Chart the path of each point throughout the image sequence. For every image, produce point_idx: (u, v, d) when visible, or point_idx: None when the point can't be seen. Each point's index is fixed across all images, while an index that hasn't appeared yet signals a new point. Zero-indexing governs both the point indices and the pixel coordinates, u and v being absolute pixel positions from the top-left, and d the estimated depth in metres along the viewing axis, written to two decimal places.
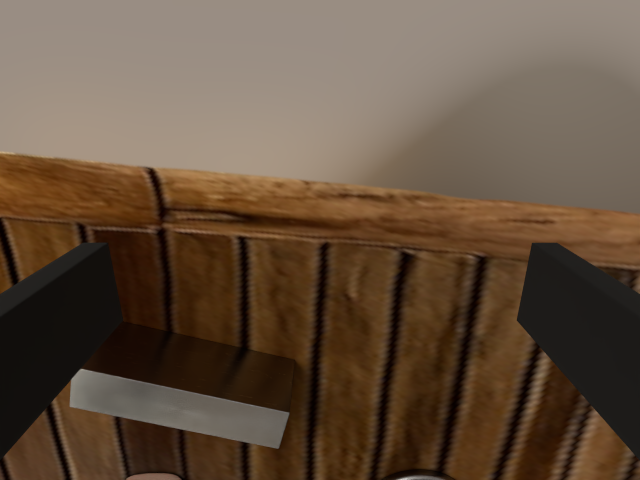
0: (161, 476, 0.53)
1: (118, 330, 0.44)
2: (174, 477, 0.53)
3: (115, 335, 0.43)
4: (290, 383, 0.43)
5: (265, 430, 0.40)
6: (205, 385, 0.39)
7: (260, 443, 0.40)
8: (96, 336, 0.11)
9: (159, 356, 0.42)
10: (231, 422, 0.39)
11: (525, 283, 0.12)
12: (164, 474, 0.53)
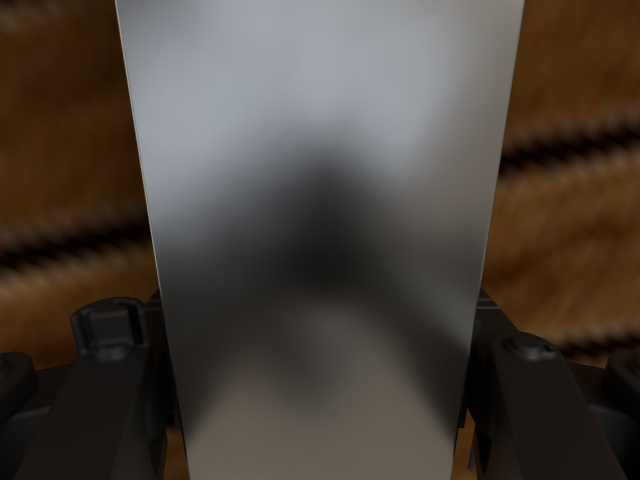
0: None
1: None
2: None
3: None
4: None
5: None
6: None
7: None
8: None
9: None
10: (303, 345, 0.06)
11: None
12: None
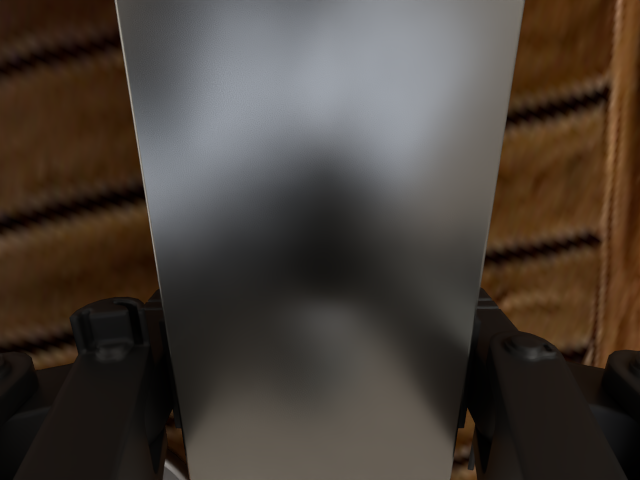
0: None
1: None
2: None
3: None
4: None
5: None
6: None
7: None
8: None
9: None
10: (303, 345, 0.06)
11: None
12: None
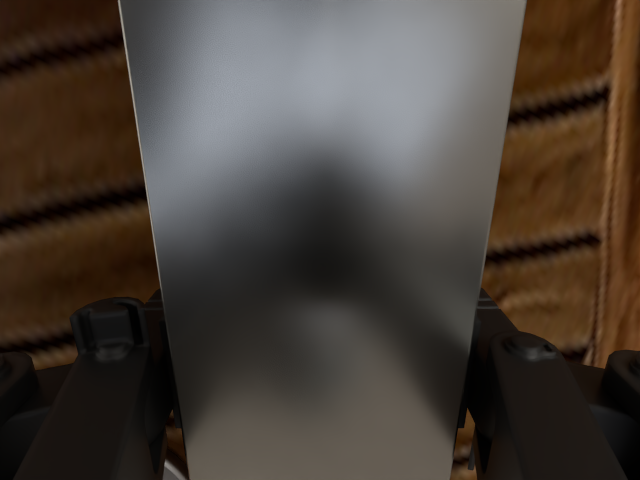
0: None
1: None
2: None
3: None
4: None
5: None
6: None
7: None
8: None
9: None
10: (303, 344, 0.06)
11: None
12: None
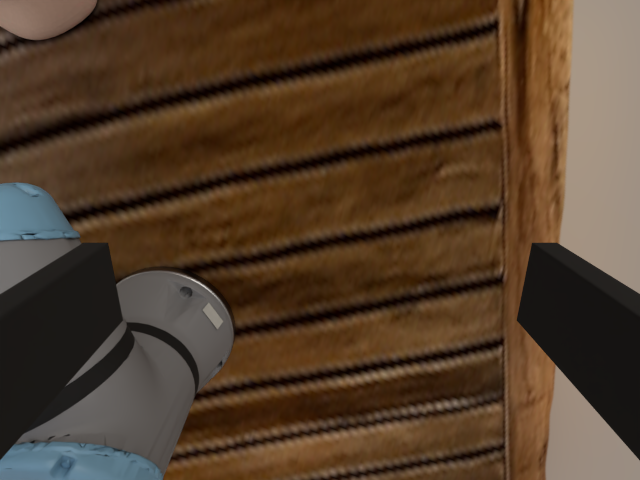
0: None
1: None
2: None
3: None
4: None
5: None
6: None
7: None
8: (96, 336, 0.11)
9: None
10: None
11: (525, 283, 0.12)
12: None
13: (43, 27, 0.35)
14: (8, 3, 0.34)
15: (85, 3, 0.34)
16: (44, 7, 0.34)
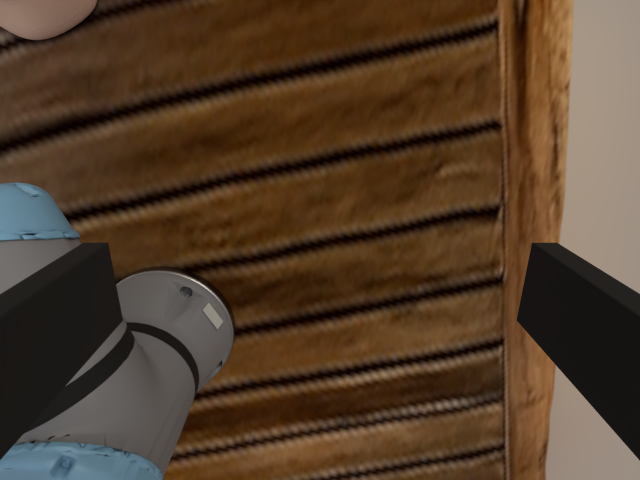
0: None
1: None
2: None
3: None
4: None
5: None
6: None
7: None
8: (96, 336, 0.11)
9: None
10: None
11: (525, 283, 0.12)
12: None
13: (43, 27, 0.35)
14: (8, 3, 0.34)
15: (85, 3, 0.34)
16: (44, 7, 0.34)
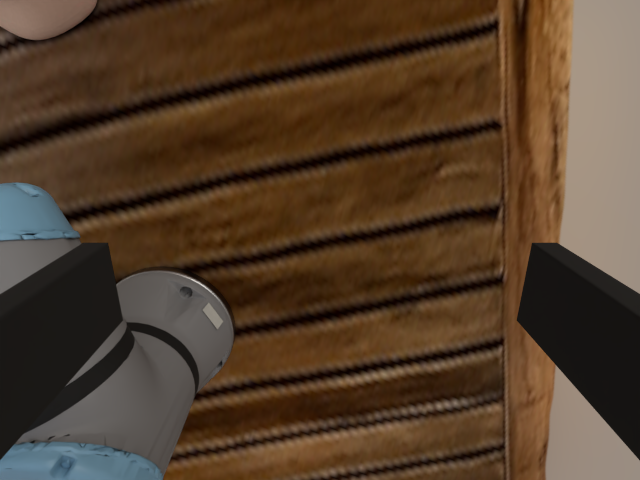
0: None
1: None
2: None
3: None
4: None
5: None
6: None
7: None
8: (96, 336, 0.11)
9: None
10: None
11: (525, 283, 0.12)
12: None
13: (43, 27, 0.35)
14: (8, 3, 0.34)
15: (85, 3, 0.34)
16: (44, 7, 0.34)
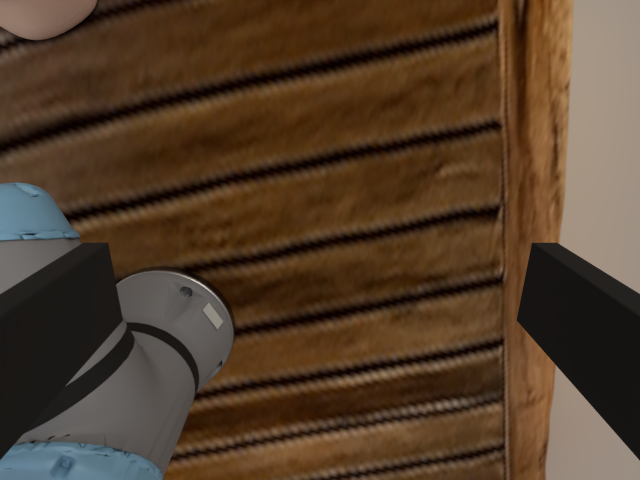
0: None
1: None
2: None
3: None
4: None
5: None
6: None
7: None
8: (96, 336, 0.11)
9: None
10: None
11: (525, 283, 0.12)
12: None
13: (43, 27, 0.35)
14: (8, 3, 0.34)
15: (85, 3, 0.34)
16: (44, 7, 0.34)
